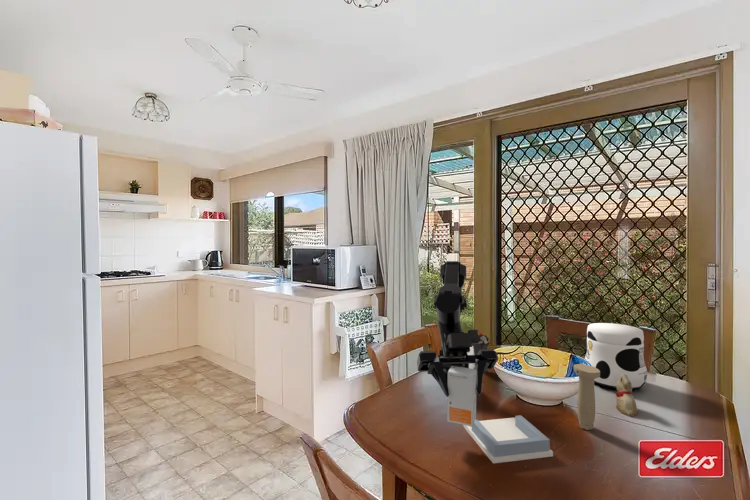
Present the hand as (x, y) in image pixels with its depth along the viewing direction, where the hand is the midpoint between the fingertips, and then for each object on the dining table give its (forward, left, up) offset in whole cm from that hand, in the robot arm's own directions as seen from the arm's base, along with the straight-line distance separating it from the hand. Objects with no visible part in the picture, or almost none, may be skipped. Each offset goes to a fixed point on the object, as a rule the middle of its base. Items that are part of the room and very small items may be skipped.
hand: (463, 395), depth 86 cm
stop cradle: (-11, 0, -12) cm, 16 cm away
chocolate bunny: (-52, -5, -12) cm, 53 cm away
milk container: (-65, -21, -12) cm, 69 cm away
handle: (-34, 0, -12) cm, 36 cm away
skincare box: (0, -2, -7) cm, 7 cm away
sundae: (-30, -44, -12) cm, 54 cm away
